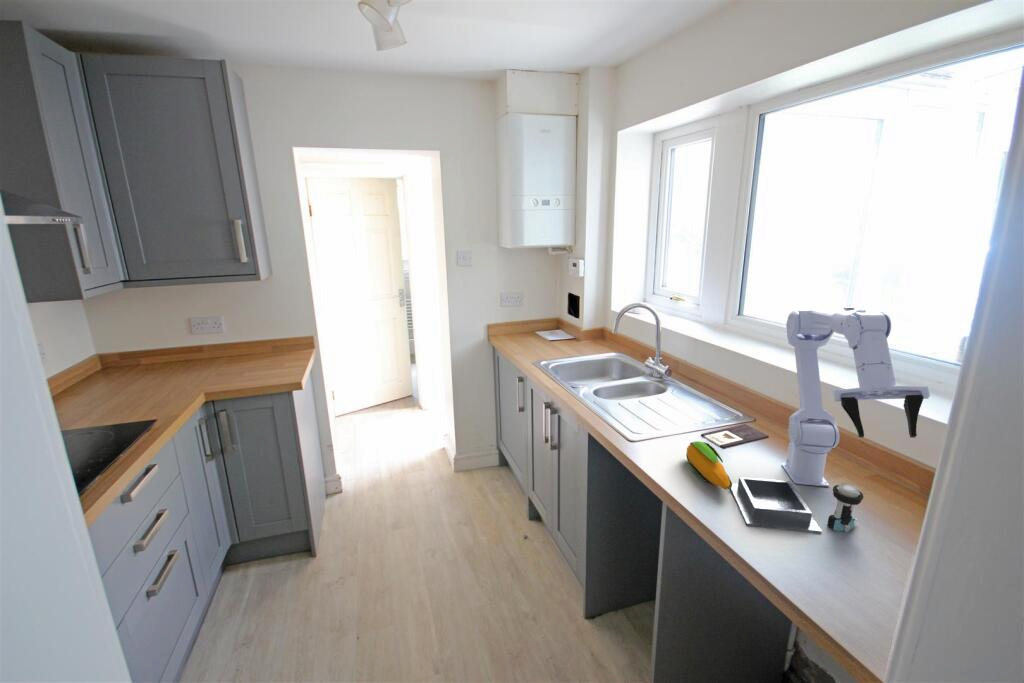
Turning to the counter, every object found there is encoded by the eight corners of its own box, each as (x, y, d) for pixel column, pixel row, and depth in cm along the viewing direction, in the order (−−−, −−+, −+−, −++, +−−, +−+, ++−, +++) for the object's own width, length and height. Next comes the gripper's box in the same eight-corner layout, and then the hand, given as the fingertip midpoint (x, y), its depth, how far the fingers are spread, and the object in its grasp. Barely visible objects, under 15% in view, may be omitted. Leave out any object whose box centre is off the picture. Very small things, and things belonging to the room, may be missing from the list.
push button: (844, 517, 103) (853, 478, 101) (867, 532, 98) (876, 492, 96) (820, 521, 102) (827, 482, 99) (841, 537, 97) (849, 497, 94)
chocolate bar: (768, 436, 140) (723, 447, 134) (768, 438, 140) (723, 449, 134) (745, 424, 148) (701, 433, 142) (744, 426, 148) (700, 436, 142)
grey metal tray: (728, 484, 116) (730, 472, 115) (792, 490, 113) (794, 477, 113) (746, 525, 101) (748, 511, 100) (821, 533, 98) (824, 519, 97)
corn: (706, 432, 128) (745, 470, 109) (705, 456, 130) (744, 498, 111) (680, 435, 128) (715, 474, 108) (680, 459, 130) (714, 501, 111)
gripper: (830, 365, 92) (840, 432, 87) (925, 358, 84) (942, 432, 79) (829, 375, 97) (839, 439, 92) (919, 370, 89) (934, 439, 85)
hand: (886, 436), depth 86 cm, fingers open, 7 cm apart
